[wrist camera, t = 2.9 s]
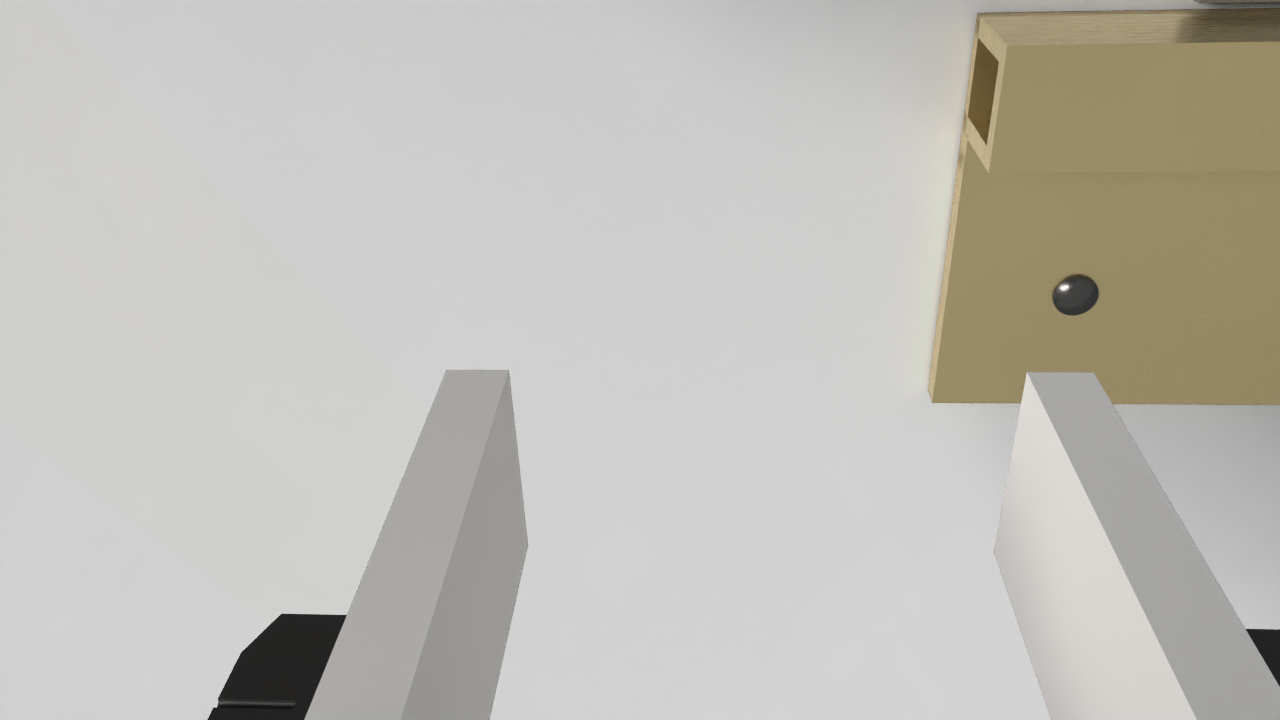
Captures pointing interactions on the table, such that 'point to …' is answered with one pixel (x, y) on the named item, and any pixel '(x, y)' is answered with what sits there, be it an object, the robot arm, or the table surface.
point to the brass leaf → (1117, 208)
